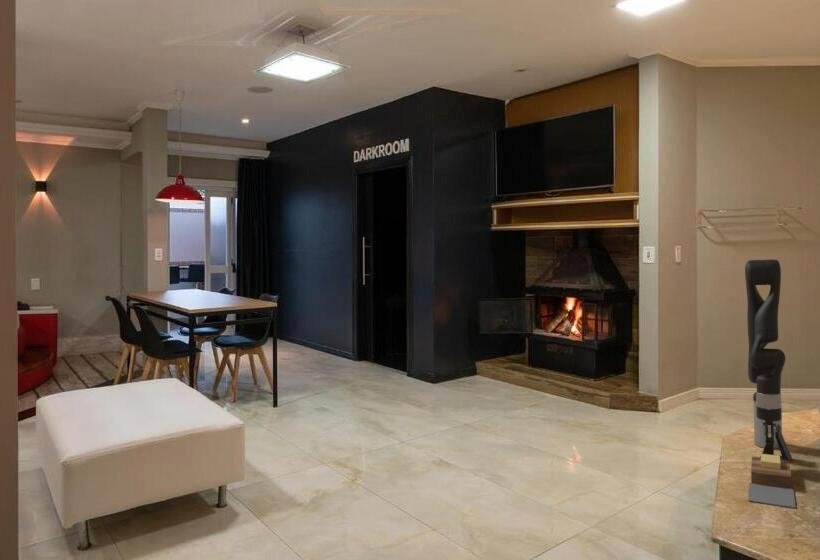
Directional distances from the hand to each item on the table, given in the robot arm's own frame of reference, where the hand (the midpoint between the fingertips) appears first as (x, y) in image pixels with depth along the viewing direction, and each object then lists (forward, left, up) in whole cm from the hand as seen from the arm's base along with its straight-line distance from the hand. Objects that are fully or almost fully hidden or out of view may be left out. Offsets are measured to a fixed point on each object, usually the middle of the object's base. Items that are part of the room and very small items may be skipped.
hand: (770, 454), depth 204 cm
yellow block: (+9, -3, 0) cm, 9 cm away
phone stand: (-9, +5, -5) cm, 11 cm away
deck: (+11, -4, -4) cm, 12 cm away
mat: (+26, -9, -4) cm, 28 cm away
